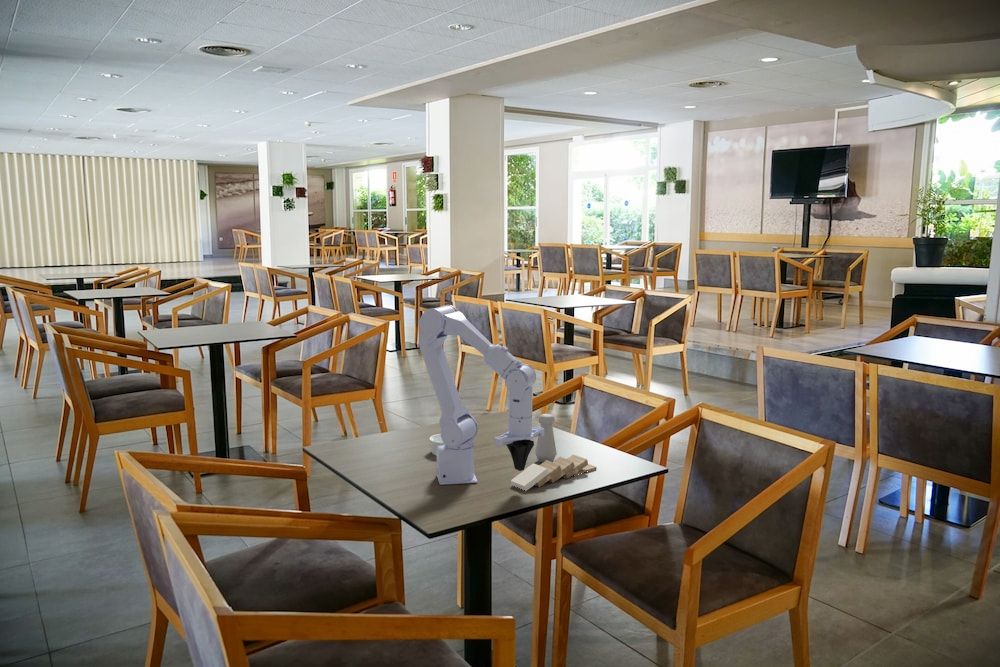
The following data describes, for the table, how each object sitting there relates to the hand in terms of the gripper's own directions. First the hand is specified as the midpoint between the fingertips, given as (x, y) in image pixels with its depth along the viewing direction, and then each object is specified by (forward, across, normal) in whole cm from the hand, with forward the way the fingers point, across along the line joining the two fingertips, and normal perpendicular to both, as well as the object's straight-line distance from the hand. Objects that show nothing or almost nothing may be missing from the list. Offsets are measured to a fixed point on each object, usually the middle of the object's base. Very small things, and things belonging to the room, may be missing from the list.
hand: (519, 469), depth 188 cm
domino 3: (+4, +14, 0) cm, 14 cm away
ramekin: (+5, +3, +34) cm, 35 cm away
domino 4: (+5, +17, 0) cm, 18 cm away
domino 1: (+4, +4, 0) cm, 6 cm away
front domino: (+4, 0, 0) cm, 4 cm away
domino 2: (+4, +9, 0) cm, 10 cm away
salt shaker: (+5, +20, +11) cm, 23 cm away
